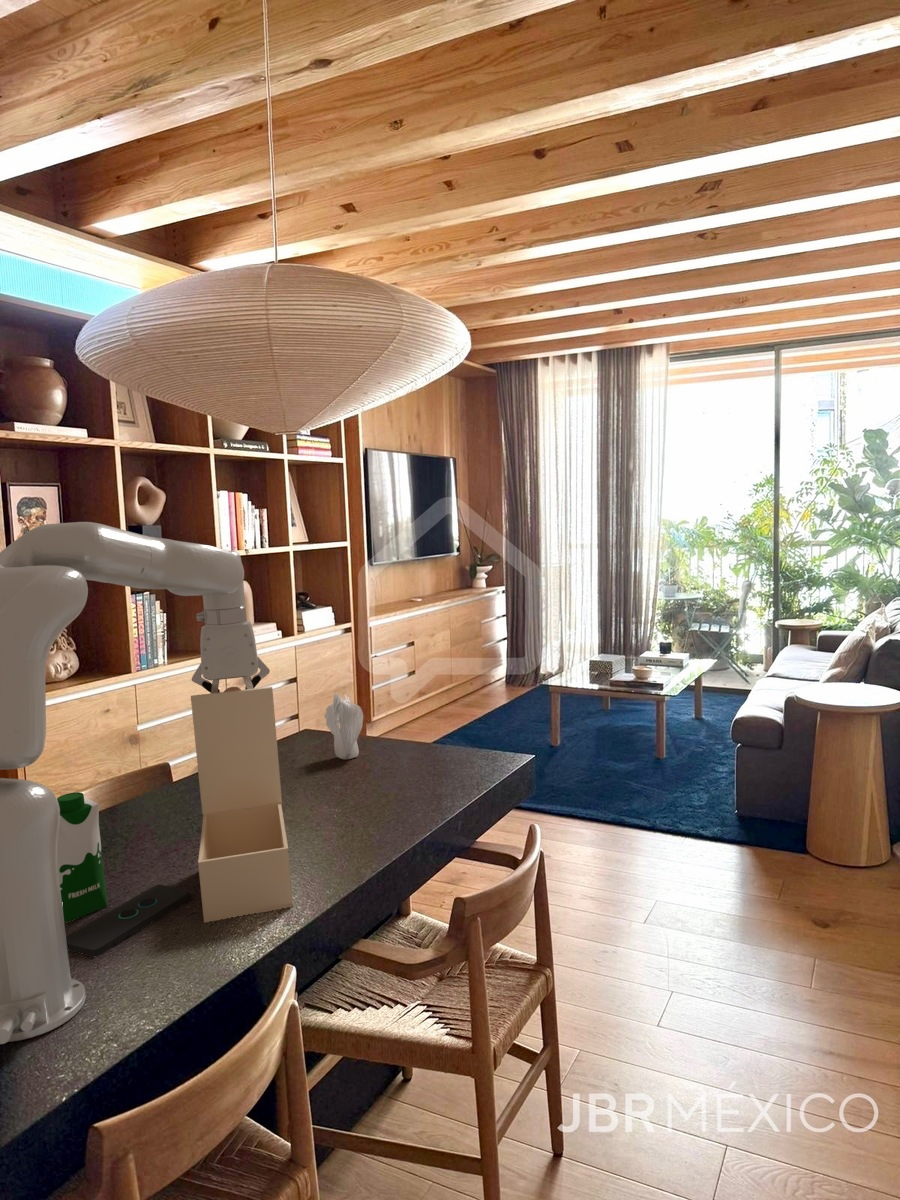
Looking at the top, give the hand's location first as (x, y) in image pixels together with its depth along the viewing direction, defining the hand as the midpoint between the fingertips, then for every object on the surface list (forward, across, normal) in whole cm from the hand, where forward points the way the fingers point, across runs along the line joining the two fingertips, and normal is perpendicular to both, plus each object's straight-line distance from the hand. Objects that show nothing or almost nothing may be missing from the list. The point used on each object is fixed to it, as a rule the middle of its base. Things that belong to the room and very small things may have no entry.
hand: (234, 711), depth 153 cm
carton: (+27, 0, -16) cm, 32 cm away
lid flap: (+6, 0, -5) cm, 8 cm away
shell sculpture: (+28, +26, +52) cm, 65 cm away
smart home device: (+28, -19, -22) cm, 40 cm away
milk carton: (+28, -28, -14) cm, 42 cm away
